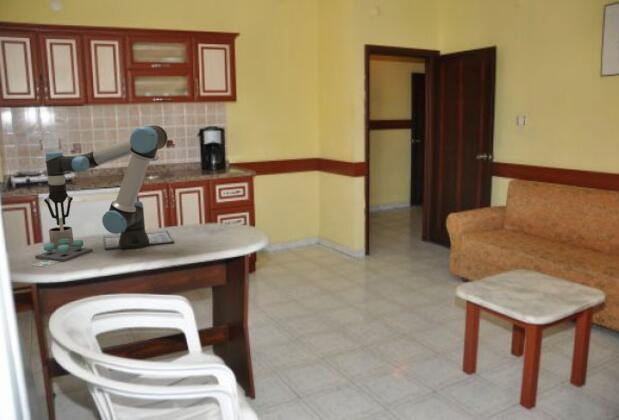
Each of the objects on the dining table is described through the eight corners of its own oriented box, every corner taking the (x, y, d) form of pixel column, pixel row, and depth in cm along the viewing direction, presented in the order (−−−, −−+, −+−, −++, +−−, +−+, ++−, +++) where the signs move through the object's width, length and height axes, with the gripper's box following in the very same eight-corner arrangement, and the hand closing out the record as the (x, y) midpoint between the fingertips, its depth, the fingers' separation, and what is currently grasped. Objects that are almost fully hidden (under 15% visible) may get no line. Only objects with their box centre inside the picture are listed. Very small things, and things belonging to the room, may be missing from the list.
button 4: (57, 251, 250) (56, 243, 249) (49, 253, 246) (48, 245, 245) (50, 250, 252) (49, 242, 251) (42, 253, 247) (41, 245, 247)
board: (93, 251, 257) (92, 248, 256) (64, 262, 240) (64, 258, 240) (65, 248, 263) (64, 245, 263) (35, 258, 247) (35, 255, 246)
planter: (64, 250, 261) (62, 231, 259) (46, 249, 263) (43, 230, 261) (78, 244, 271) (76, 226, 269) (60, 243, 274) (58, 226, 272)
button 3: (71, 246, 258) (70, 238, 257) (64, 249, 254) (63, 241, 253) (64, 245, 260) (63, 238, 259) (57, 248, 256) (56, 240, 255)
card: (59, 262, 240) (59, 261, 240) (45, 267, 233) (45, 266, 233) (46, 260, 243) (46, 259, 243) (31, 265, 236) (31, 264, 235)
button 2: (71, 252, 247) (70, 244, 246) (63, 255, 243) (63, 247, 242) (64, 252, 248) (63, 244, 248) (56, 254, 244) (55, 246, 243)
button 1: (85, 248, 255) (85, 240, 254) (78, 250, 251) (77, 242, 250) (78, 247, 257) (77, 239, 256) (71, 249, 252) (70, 241, 252)
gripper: (71, 182, 257) (76, 228, 261) (42, 183, 251) (47, 231, 256) (71, 184, 250) (76, 231, 255) (41, 185, 245) (46, 234, 249)
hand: (61, 231), depth 255 cm, fingers closed
